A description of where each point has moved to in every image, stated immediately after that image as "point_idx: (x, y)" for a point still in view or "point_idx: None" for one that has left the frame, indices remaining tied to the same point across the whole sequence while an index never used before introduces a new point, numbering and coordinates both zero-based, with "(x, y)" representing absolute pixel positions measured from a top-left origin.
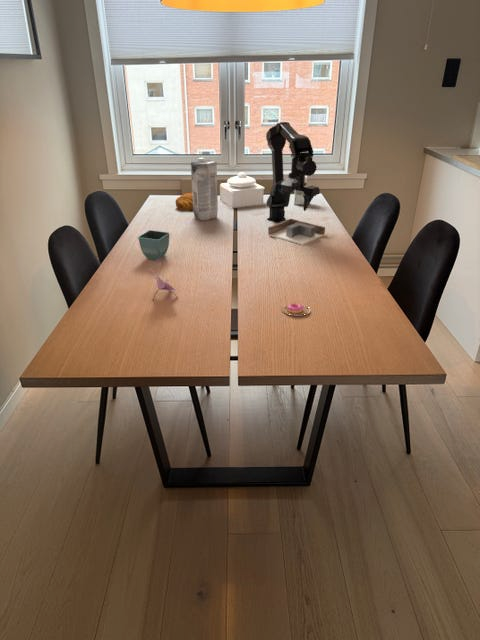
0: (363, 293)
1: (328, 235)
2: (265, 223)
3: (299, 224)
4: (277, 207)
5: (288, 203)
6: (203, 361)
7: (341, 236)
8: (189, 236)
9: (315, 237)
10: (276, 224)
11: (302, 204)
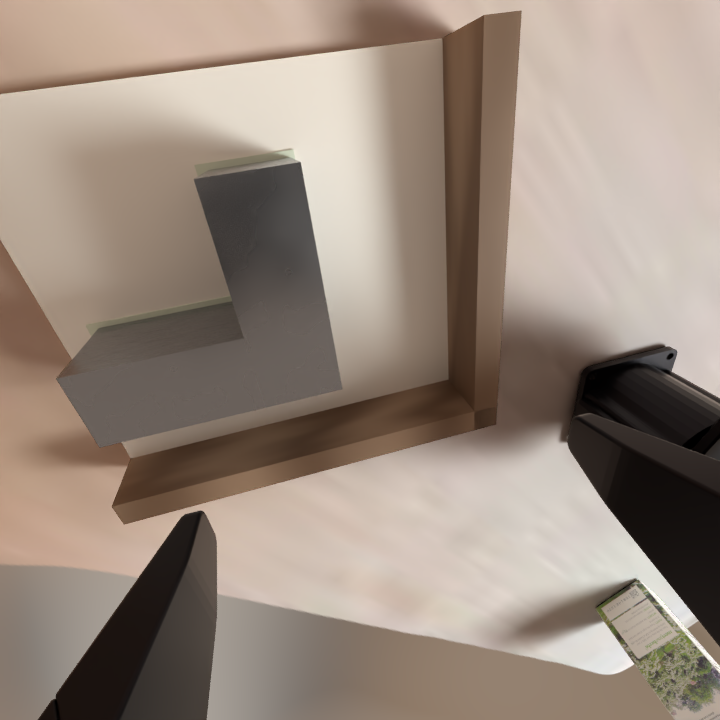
0: None
1: None
2: (647, 283)
3: (270, 356)
4: (694, 447)
5: (596, 480)
6: None
7: (55, 543)
8: None
9: None
10: (501, 197)
11: (606, 603)
